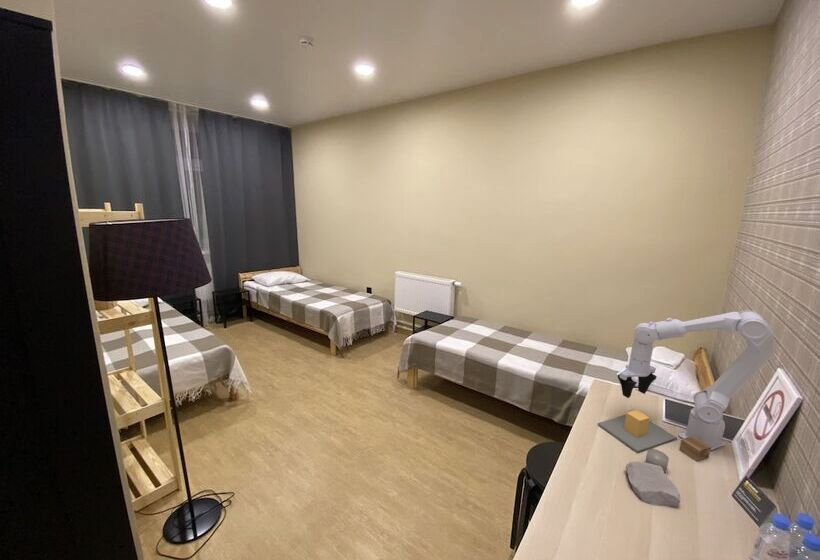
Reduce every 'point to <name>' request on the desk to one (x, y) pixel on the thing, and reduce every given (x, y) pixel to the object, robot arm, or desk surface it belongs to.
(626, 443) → the slate mat
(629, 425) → the ochre block
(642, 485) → the stone block
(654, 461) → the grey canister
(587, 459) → the desk surface
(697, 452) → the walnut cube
